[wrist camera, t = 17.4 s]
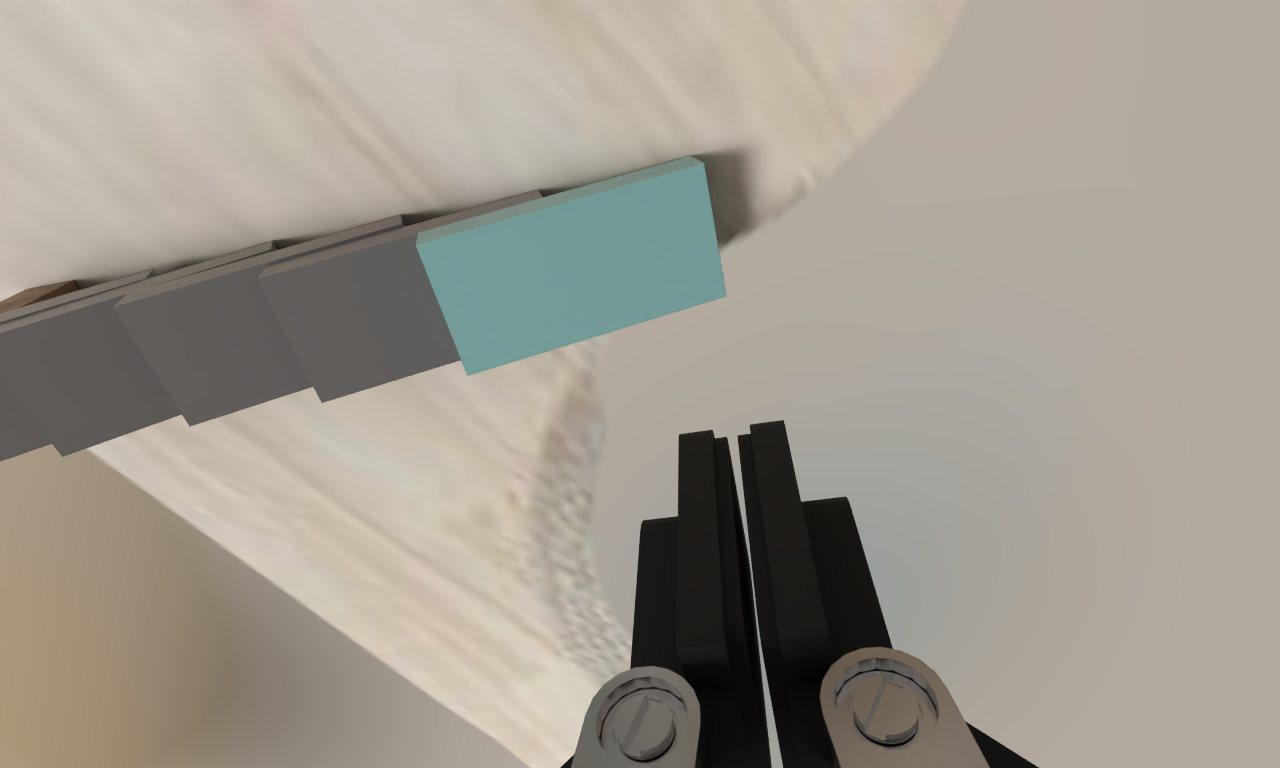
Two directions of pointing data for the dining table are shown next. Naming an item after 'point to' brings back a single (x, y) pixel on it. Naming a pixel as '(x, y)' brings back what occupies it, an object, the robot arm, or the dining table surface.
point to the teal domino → (575, 263)
